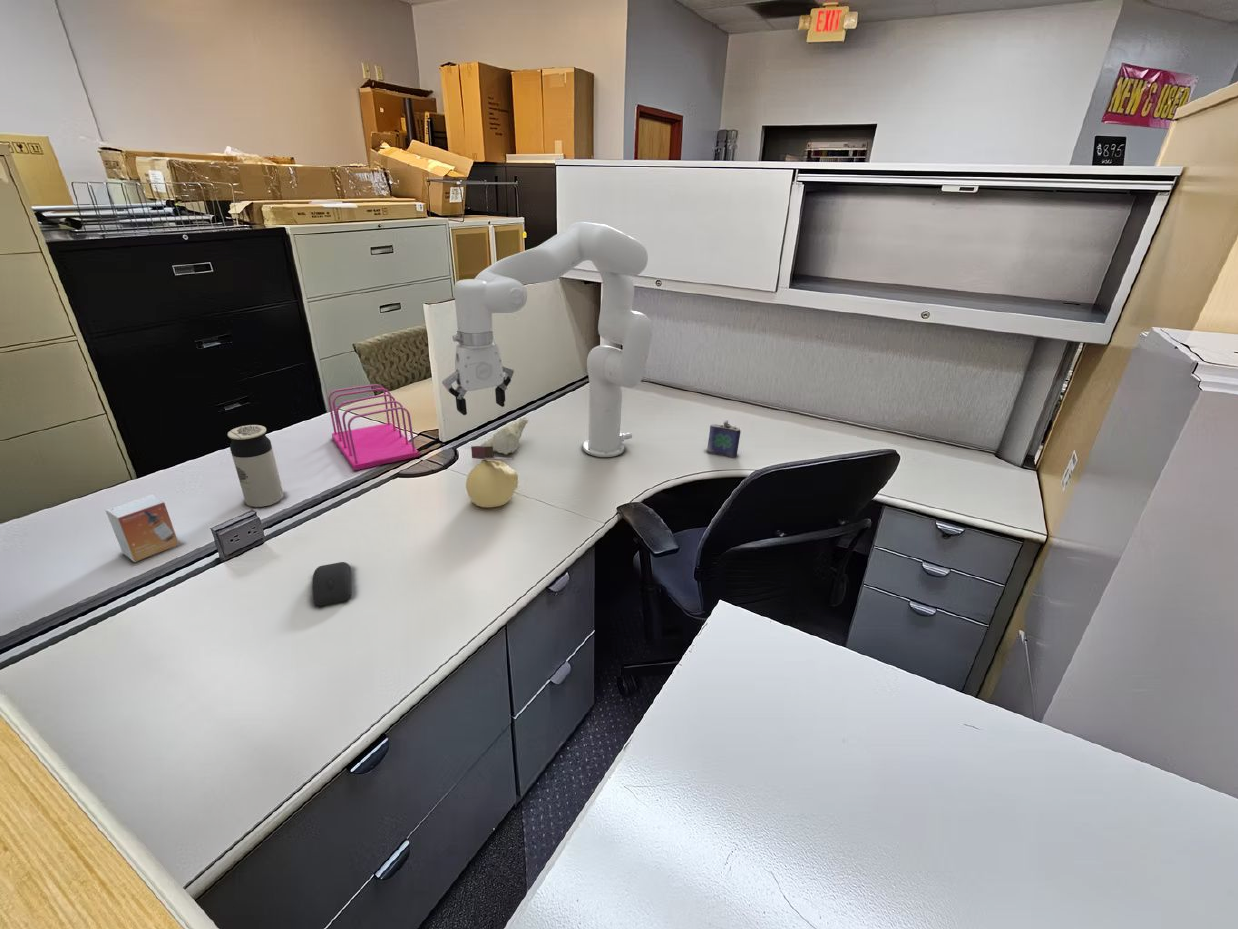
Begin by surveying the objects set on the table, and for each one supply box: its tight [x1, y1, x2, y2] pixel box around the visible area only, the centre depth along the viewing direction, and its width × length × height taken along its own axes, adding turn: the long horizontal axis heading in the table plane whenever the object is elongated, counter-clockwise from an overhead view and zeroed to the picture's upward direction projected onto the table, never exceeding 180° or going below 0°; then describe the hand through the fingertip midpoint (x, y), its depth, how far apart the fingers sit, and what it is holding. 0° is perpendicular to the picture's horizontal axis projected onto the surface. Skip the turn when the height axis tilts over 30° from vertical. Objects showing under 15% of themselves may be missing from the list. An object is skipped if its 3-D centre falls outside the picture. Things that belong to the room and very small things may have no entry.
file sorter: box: [327, 383, 420, 471], centre depth 160 cm, size 17×25×16 cm
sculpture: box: [465, 459, 519, 508], centre depth 137 cm, size 12×12×11 cm
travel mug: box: [227, 424, 285, 508], centre depth 131 cm, size 8×8×18 cm
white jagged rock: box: [480, 416, 529, 456], centre depth 165 cm, size 15×7×15 cm
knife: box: [470, 445, 514, 462], centre depth 134 cm, size 18×3×3 cm, turn 39°
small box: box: [105, 493, 180, 563], centre depth 113 cm, size 8×6×10 cm
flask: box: [706, 420, 741, 458], centre depth 169 cm, size 9×3×11 cm, turn 71°
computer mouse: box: [312, 561, 352, 607], centre depth 107 cm, size 6×11×4 cm, turn 24°
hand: (481, 409), depth 133 cm, fingers open, 9 cm apart
